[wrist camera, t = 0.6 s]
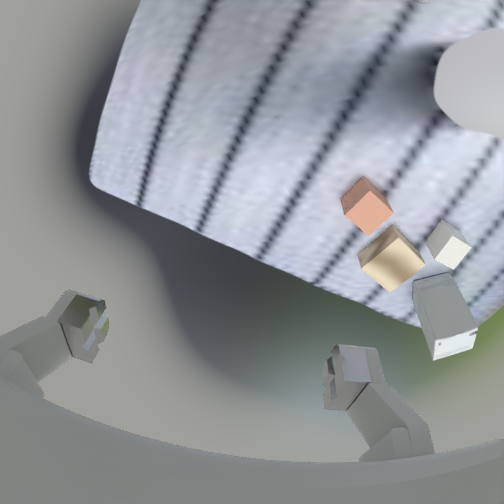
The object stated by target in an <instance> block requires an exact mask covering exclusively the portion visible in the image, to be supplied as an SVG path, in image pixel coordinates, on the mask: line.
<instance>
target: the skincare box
mask: <svg viewBox="0 0 504 504" xmlns="http://www.w3.org/2000/svg"><path fill="white" fill-rule="evenodd" d="M413 304H414V307H415V309H416V312H417V315H418V318H419V320H420V323H421V326H422V329H423V332H424V335H425V338H426V340H427V344H428V347H429V350H430V353H431V356H432V359H433V360H436V359H440V358H443V357H446V356H450V355H452V354H456V353H459V352H462V351H465V350H469V349H472V347H473V344H474V341H475V337H476V334H477V330H478V326H477V324H476V322H475V320H474V318H473V316H472V314H471V312H470V310H469V308H468V306H467V304H466V302H465V300H464V298H463V296H462V294H461V292H460V290H459V288H458V287H457V285H456V283H455V281H454V279H453V277H452V276H451V274H450V272H448V273H444V274H441V275H437V276H433V277H429V278H425V279H421V280H417V281H413Z"/></svg>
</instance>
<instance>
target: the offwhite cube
mask: <svg viewBox="0 0 504 504" xmlns="http://www.w3.org/2000/svg"><path fill="white" fill-rule="evenodd" d="M426 244H427V246H428V248H429V250H430V252H431V254H432V256H433V258H434V259H435V260H436V261H438V262H440V263H442V264H444V265H446V266H448V267H450V268H451V269H453V270H454V269H455V267H456V266H457V265H458V264H459V263H460V261H461V260H462V259H463V258H464V256H465V255H466V254H467V252H468V251H469V250H470V249H471V246H470V245H469V243H468V242H467V240H466V239H465V237H464V236H463V234H462V233H461V231H460V230H458V229H456V228H455V227H453V226H452V225H450V224H449V223H447V222H445V221H444V220H442V219H441V221H440V222H439V224H438V225H437V226H436V228H435V229H434V231H433V232H432V233H431V235H430V236H429V237H428V239H427V240H426Z"/></svg>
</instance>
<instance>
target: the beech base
mask: <svg viewBox="0 0 504 504" xmlns="http://www.w3.org/2000/svg"><path fill="white" fill-rule="evenodd" d="M358 257H359V262H360V266H361V269H362V270H363V271H365V272H366V273H367V274H368V275H369V276H371V277H372V278H373V279H374V280H375V281H377V282H378V283H379V284H380V285H381V286H383V287H384V288H385V289H386V290H387V291H389V292H391V291H393V290H394V289H396V288H397V287H398V286H399V285H401V284H402V283H403V282H405V281H406V280H407V279H409V278H410V277H411V276H412V275H414V274H415V273H416V272H418V271H419V270H420V269H421V268H423V267H424V266H425V263H424V260H423V258H422V256H421V254H420V252H419V251H418V250H417V249H416V248H415V247H414V245H413V244H412V243H411V242H410V241H409V240H408V239H407V238H406V237H405V236H404V235H403V234H402V233H401V232H400V231H399V230H398V229H397V228H396V227H395V226H394V225H392V226H391V227H390V228H388V229H387V230H386V231H385V232H384V233H383V234H382V235H380V236H379V237H378V238H377V239H376V240H375V241H373V242H372V243H371V244H370V245H369V246H368V247H366V248H365V249H364V250H363V251H362V252H361V253H359V254H358Z"/></svg>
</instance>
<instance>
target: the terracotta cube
mask: <svg viewBox="0 0 504 504" xmlns="http://www.w3.org/2000/svg"><path fill="white" fill-rule="evenodd" d="M341 203H342V207H343V211H344V215H345V216H346V217H347V218H348V219H350V220H351V221H352V222H353V223H354V224H356V225H357V226H358V227H359V228H360V229H361V230H363V231H364V232H365V233H366V234H367V235H370V234H371V233H372V232H373V231H374V230H376V229H377V228H378V227H379V226H380V225H381V224H382V223H383V222H384V221H385V220H386V219H387V218H389V217H390V216H391V215H392V214H393V211H392V209H391V207H390V205H389V203H388V201H387V199H386V197H385V196H384V195H383V194H382V193H381V192H380V191H379V190H378V189H376V188H375V187H374V186H373V185H372V184H371V183H370V182H369V181H368V180H367V179H366V178H364V177H362V178H361V179H360V180H359V181H358V182H357V183H356V184H355V185H354V186H353V187H352V188H351V189H350V190H349V191H348V192H347V193H346V194H345V195H344V196H343V197H342V198H341Z"/></svg>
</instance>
